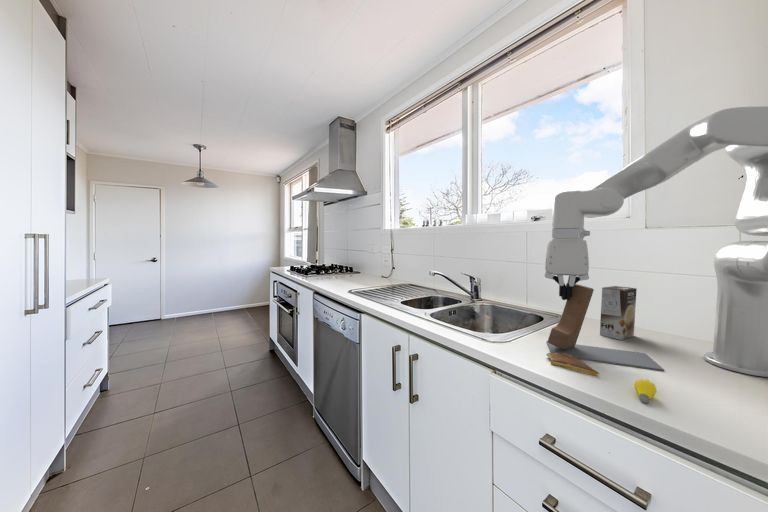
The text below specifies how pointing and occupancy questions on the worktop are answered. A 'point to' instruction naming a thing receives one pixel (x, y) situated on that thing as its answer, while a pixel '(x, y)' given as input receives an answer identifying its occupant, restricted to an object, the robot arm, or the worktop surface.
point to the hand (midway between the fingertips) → (565, 299)
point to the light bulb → (645, 389)
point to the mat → (609, 356)
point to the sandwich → (570, 363)
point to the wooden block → (571, 318)
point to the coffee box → (618, 312)
